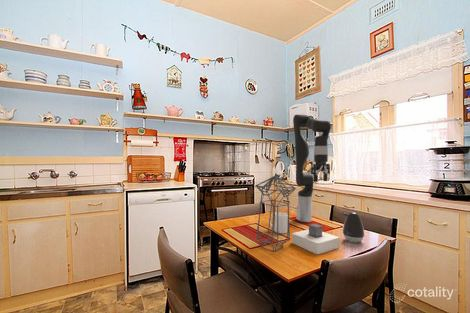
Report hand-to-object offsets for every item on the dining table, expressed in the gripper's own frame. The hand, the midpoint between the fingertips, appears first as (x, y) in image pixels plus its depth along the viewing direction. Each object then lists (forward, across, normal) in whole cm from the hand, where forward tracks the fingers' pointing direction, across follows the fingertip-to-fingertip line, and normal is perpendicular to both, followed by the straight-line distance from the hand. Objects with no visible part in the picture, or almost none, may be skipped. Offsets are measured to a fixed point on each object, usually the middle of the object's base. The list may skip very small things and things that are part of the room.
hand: (320, 181), depth 136 cm
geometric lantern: (+30, +39, +4) cm, 50 cm away
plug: (+30, +19, +12) cm, 38 cm away
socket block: (+30, +19, +12) cm, 38 cm away
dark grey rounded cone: (+30, -4, +18) cm, 35 cm away
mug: (+30, +20, -14) cm, 39 cm away
